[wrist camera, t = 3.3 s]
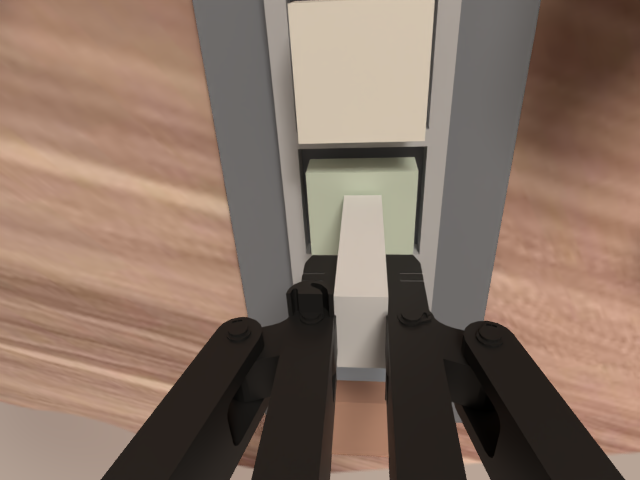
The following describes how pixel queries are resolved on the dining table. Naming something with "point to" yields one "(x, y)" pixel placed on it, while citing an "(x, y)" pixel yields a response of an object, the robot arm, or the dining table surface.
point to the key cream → (361, 69)
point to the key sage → (362, 179)
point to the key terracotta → (360, 419)
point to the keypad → (370, 147)
